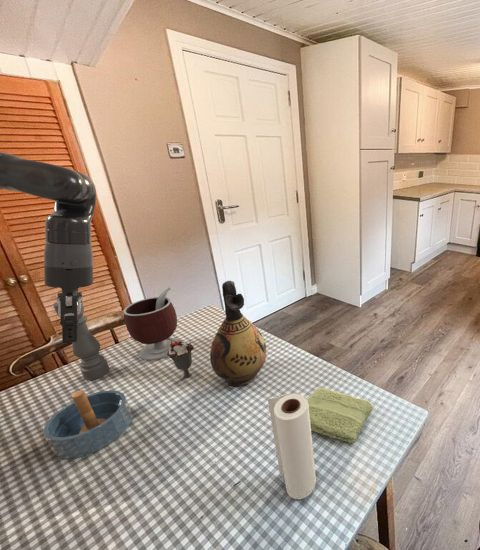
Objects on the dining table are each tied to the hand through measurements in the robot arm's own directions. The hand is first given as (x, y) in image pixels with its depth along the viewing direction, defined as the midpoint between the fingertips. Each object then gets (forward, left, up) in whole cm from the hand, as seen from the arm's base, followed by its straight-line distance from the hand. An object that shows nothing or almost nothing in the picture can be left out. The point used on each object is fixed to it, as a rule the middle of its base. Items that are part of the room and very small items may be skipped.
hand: (70, 335), depth 67 cm
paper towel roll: (+47, -27, -26) cm, 60 cm away
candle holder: (-13, +22, -26) cm, 36 cm away
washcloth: (+56, -12, -26) cm, 63 cm away
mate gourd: (+2, +32, -26) cm, 41 cm away
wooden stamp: (-1, -3, -25) cm, 25 cm away
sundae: (+15, +13, -26) cm, 32 cm away
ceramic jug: (+31, +11, -26) cm, 42 cm away
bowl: (-1, -3, -26) cm, 26 cm away
